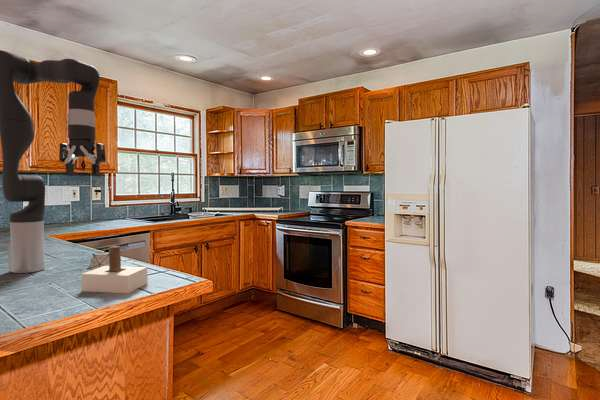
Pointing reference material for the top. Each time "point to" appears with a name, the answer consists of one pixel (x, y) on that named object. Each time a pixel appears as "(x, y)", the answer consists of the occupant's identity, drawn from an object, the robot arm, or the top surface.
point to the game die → (99, 261)
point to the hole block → (114, 279)
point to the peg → (114, 259)
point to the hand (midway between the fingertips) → (82, 175)
